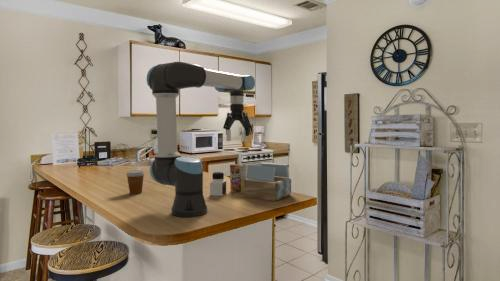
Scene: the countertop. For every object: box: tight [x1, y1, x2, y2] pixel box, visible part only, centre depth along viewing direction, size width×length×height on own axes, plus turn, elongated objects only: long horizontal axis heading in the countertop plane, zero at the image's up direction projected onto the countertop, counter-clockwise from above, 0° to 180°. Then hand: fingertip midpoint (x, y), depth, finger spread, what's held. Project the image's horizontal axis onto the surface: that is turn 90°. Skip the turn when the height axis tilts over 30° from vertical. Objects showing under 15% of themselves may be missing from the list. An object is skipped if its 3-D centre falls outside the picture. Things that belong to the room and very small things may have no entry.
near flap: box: [246, 164, 276, 182], centre depth 166 cm, size 1×16×7 cm, turn 55°
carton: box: [244, 176, 292, 202], centre depth 172 cm, size 16×20×9 cm
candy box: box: [229, 163, 247, 194], centre depth 182 cm, size 9×4×15 cm, turn 46°
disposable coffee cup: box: [125, 169, 145, 195], centre depth 181 cm, size 10×10×12 cm
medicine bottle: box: [209, 171, 227, 197], centre depth 176 cm, size 7×7×12 cm
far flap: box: [260, 162, 290, 178], centre depth 178 cm, size 1×16×7 cm, turn 54°
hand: (237, 141), depth 186 cm, fingers open, 13 cm apart
